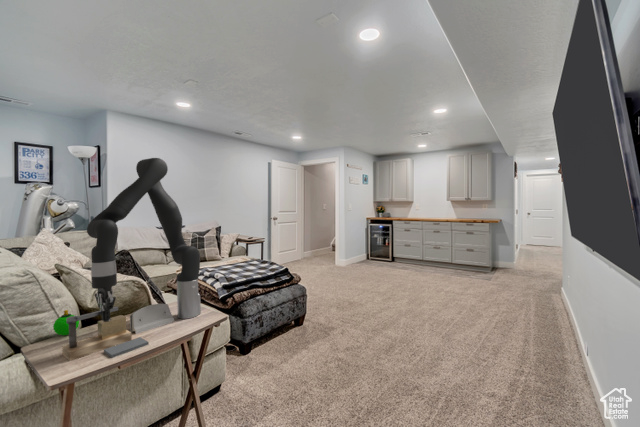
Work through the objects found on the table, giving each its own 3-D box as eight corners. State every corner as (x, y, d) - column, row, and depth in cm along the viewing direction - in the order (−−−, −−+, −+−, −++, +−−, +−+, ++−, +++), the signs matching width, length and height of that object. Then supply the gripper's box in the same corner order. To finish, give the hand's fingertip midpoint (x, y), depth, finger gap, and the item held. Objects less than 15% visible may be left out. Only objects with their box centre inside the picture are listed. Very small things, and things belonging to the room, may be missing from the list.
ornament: (82, 333, 122) (81, 309, 122) (57, 340, 116) (56, 315, 115) (75, 329, 127) (74, 305, 127) (50, 336, 120) (49, 311, 120)
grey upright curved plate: (135, 334, 120) (130, 310, 122) (130, 335, 123) (126, 311, 125) (175, 321, 134) (170, 299, 136) (170, 322, 137) (165, 301, 138)
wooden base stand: (123, 335, 120) (122, 306, 120) (131, 340, 116) (130, 310, 115) (62, 354, 105) (61, 322, 104) (69, 361, 100) (68, 327, 100)
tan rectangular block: (122, 329, 118) (121, 314, 118) (126, 332, 116) (125, 316, 116) (98, 337, 112) (97, 320, 111) (102, 339, 109) (101, 323, 109)
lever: (68, 324, 102) (68, 319, 102) (65, 322, 103) (65, 317, 103) (119, 310, 114) (119, 306, 114) (115, 309, 116) (115, 305, 116)
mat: (140, 339, 116) (140, 337, 116) (148, 344, 112) (148, 341, 112) (103, 352, 106) (103, 349, 106) (111, 357, 102) (111, 355, 102)
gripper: (123, 273, 108) (125, 320, 109) (108, 269, 116) (110, 313, 116) (98, 277, 102) (100, 327, 103) (85, 273, 110) (87, 319, 110)
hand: (105, 320), depth 109 cm, fingers closed
